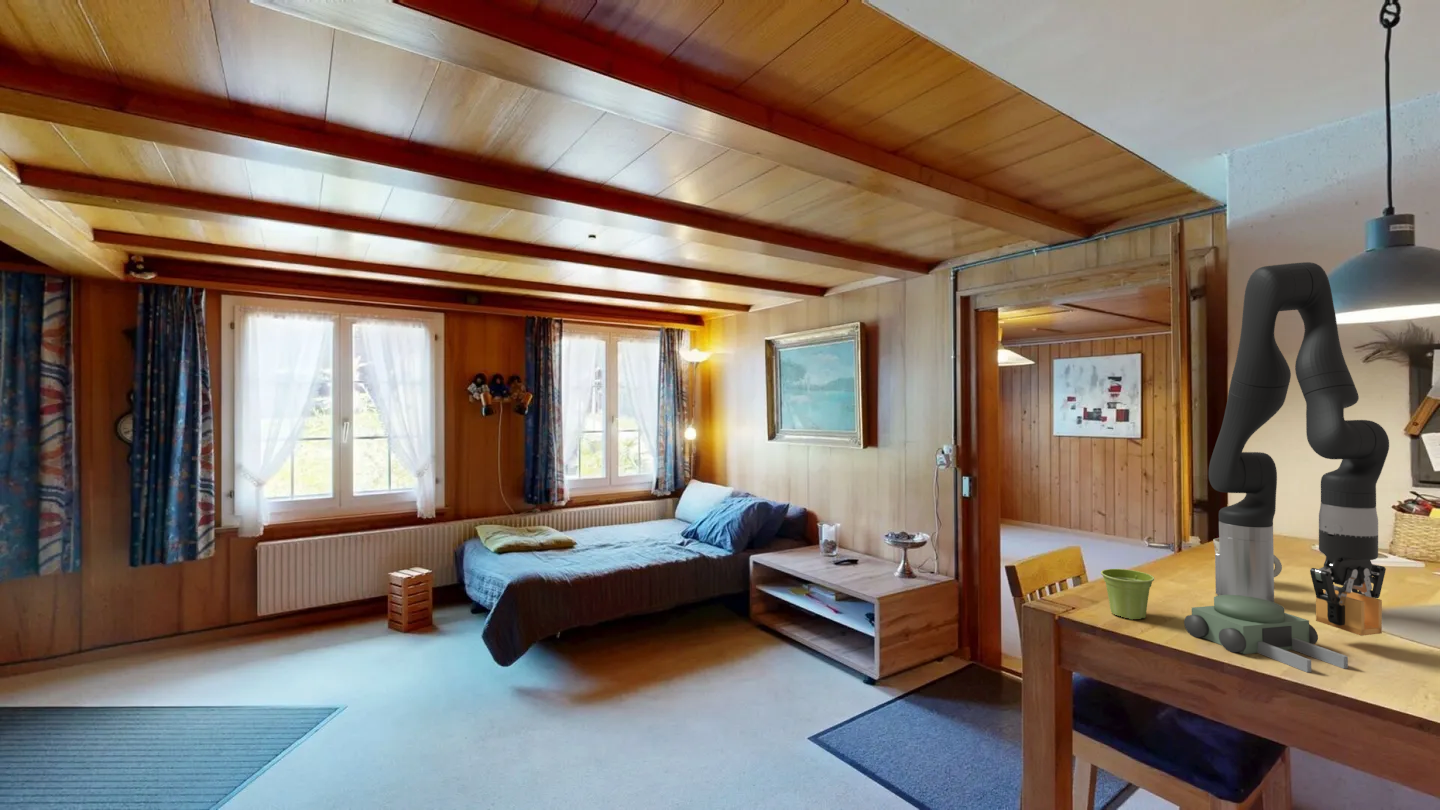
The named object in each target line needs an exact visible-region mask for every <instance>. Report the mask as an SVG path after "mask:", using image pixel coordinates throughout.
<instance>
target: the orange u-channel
mask: <svg viewBox="0 0 1440 810" xmlns="http://www.w3.org/2000/svg"><path fill="white" fill-rule="evenodd" d="M1323 592H1324V593H1325V592H1326V590H1324V589H1323ZM1338 593H1339V592H1338V591H1337V590H1335V594H1336V597H1338ZM1344 606H1345V625H1337V624H1334V623H1331V622H1329V620H1328V617H1327V612H1328V611H1327V602H1326V601H1325V600H1322V599H1318V598H1317V597H1316V596H1315V621H1316V622H1317V623H1321V624H1324V625H1327V626H1330V627H1334V628H1336V629H1339V630H1342V631H1346V632H1349V633H1352V634H1354V635H1358V636H1362V637H1363V636H1371V635H1372V636H1373V635H1380V634H1382V633H1383V631H1382V630H1383V629H1382V628H1383V626H1382V625H1383V620H1382V619H1383V615H1382V614H1383V600H1382V599H1380V598H1373V597H1369V596H1364V595H1362V594H1358V593H1354V592H1351V593H1350V594H1347V596H1346V600H1345V604H1344Z"/></svg>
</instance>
